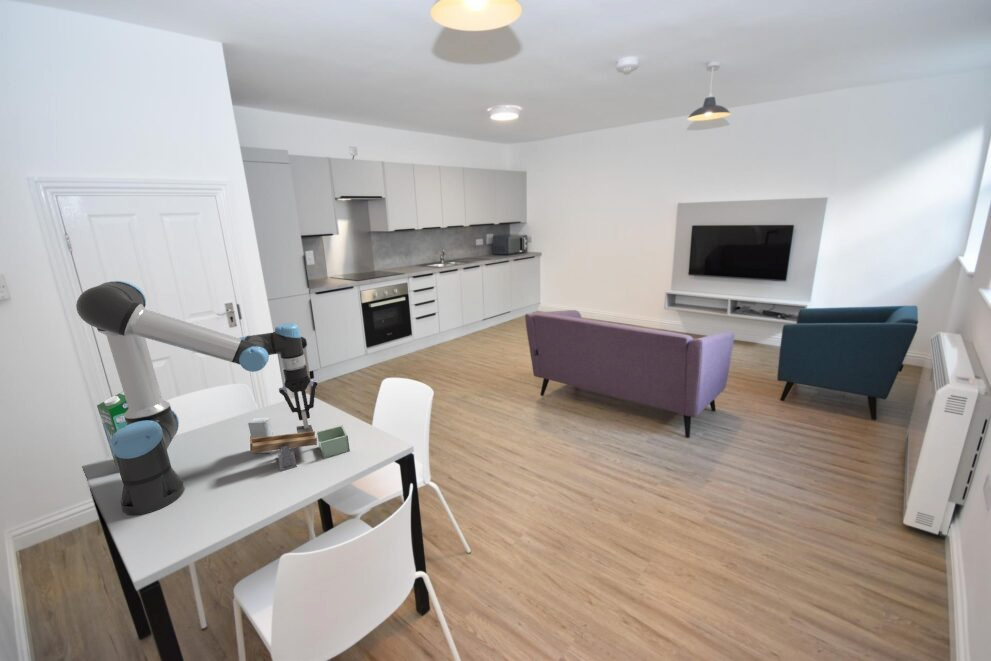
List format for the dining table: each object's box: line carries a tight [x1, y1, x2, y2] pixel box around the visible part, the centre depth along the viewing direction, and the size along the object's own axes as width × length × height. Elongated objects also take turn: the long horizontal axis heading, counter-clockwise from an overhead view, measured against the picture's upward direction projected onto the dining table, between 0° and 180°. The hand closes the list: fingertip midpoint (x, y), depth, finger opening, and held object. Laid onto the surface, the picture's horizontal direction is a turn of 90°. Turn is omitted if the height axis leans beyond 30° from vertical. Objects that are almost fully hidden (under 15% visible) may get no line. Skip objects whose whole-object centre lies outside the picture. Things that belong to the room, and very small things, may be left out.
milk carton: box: [96, 391, 128, 466], centre depth 150 cm, size 9×9×25 cm
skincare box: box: [247, 417, 275, 454], centre depth 156 cm, size 6×4×12 cm
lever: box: [249, 424, 318, 454], centre depth 151 cm, size 20×15×3 cm
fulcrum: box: [277, 434, 297, 472], centre depth 148 cm, size 5×10×8 cm, turn 29°
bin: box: [316, 424, 351, 459], centre depth 155 cm, size 9×9×6 cm
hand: (306, 426), depth 159 cm, fingers closed
